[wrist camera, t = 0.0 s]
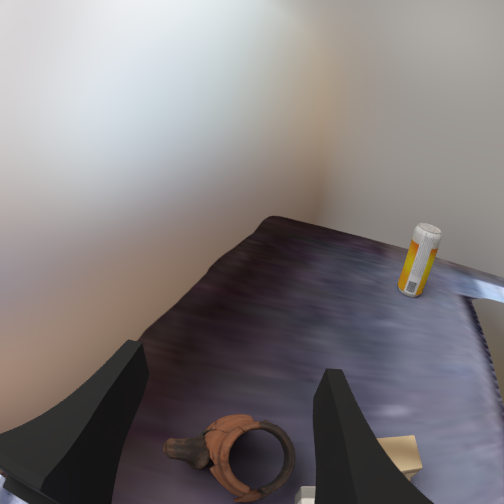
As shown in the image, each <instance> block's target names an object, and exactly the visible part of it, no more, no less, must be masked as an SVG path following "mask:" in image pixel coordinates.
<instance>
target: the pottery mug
mask: <svg viewBox="0 0 504 504" xmlns="http://www.w3.org/2000/svg"><path fill="white" fill-rule="evenodd" d="M258 429H261V430H265V431H268V432H270V433H271V434H273V435H274V436H275V437H276V438H277V439H278V440H279V441H280V443H281V445H282V447H283V451H284V464H283V467H282V470H281V472H280V473H279V475H278V476H277V478H276V479H275V480H274V481H272V482H271V483H269V484H267V485H265V486H262V487H260V488H259V489H250V487H249V486H248V485H245V484H244V483H242V482H240V481H239V480H238V479H237V478H236V477H235V475H234V474H233V472H232V470H231V467H230V464H229V461H228V460H229V453H230V450H231V447H232V445H233V443H234V442H235V440H236V439H237V438H238V437H239V436H240V435H242V434H243V433H245V432H247V431H250V430H258ZM163 452H164V453H165V454H166V455H167V457H169V458H171V459H178V460H182V461H185V462H187V463H188V464H190V465H191V466H192V468H194V469H203V468H204V467H205V466H207V464H208V463H209V460H210V458H211V460H212V461H213V462H214V464H215V465H214V466H213V467H211V468H210V471H211V472H212V474H213V475H214V476H215V478H216V479H217V480H218V482H219V483H220V484H221V485H223V486H224V487H225V488H226V489H227V490H228V491H229V492H231V493H232V494H234V495H237V496H239V497H238V498H234V501H235V502H251V501H255V500H257V499H263V498H264V497H266V496H268V495H269V494H270V493H272V492H274V491H275V490H277V489H278V488H280V487H281V486H282V485H284V484H285V482H286V481H287V480H288V478H289V477H290V475H291V472H292V471H293V468H294V463H295V450H294V447H293V443H292V442H291V441H290V438H289V437H288V435H287V434H286V433H285V432H284V431H283V430H282V429H281V428H280V427H279V426H278V425H274V424H272V423H270V422H269V421H267V420H264V421H261V422H254V420H253V418H252V417H251V416H250V415H243V414H236V415H230V416H225V417H222V418H220V419H218V420H216V421H215V422H214V423H212V424H211V425H209V426H208V427H207V428H206V429H205V430H204V431H203V432H202V433H201V434H200V435H199V436H198V437H197V438H185V439H174V438H170V439H168V440H167V442H166V443H165V444H164V446H163Z"/></svg>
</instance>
